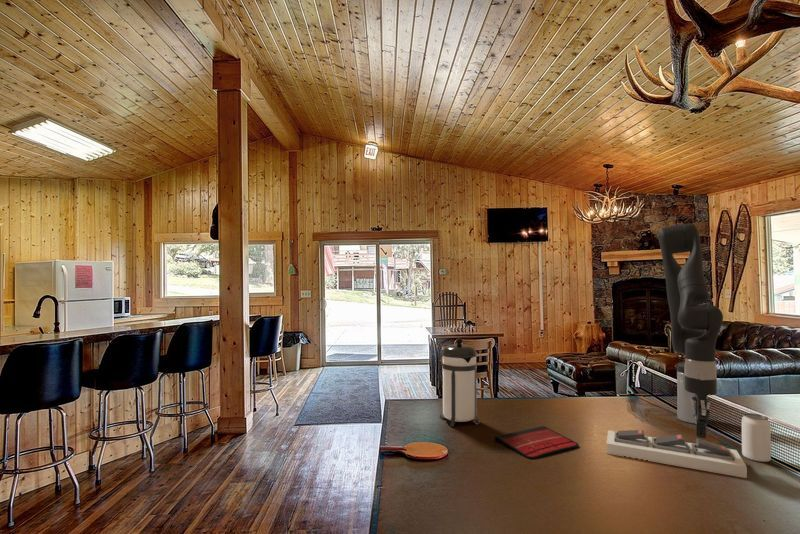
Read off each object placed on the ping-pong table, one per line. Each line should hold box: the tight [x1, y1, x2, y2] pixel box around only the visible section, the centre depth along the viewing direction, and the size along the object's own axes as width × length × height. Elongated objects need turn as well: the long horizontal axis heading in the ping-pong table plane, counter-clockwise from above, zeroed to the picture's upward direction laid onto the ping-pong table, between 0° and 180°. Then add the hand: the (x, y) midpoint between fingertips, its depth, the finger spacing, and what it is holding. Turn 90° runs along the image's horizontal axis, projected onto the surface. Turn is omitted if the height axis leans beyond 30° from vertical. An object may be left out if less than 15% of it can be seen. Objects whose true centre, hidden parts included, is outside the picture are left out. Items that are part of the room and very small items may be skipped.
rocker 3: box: [695, 437, 729, 456], centre depth 121 cm, size 4×7×1 cm, turn 62°
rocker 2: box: [655, 433, 686, 446], centre depth 125 cm, size 4×7×1 cm, turn 62°
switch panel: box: [606, 429, 748, 479], centre depth 125 cm, size 12×33×4 cm, turn 62°
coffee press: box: [439, 337, 481, 428], centre depth 157 cm, size 17×16×30 cm
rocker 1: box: [617, 429, 646, 439], centre depth 130 cm, size 4×7×1 cm, turn 62°
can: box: [741, 412, 772, 463], centre depth 125 cm, size 6×6×12 cm
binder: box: [494, 425, 579, 460], centre depth 135 cm, size 16×2×21 cm
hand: (700, 436), depth 122 cm, fingers closed
